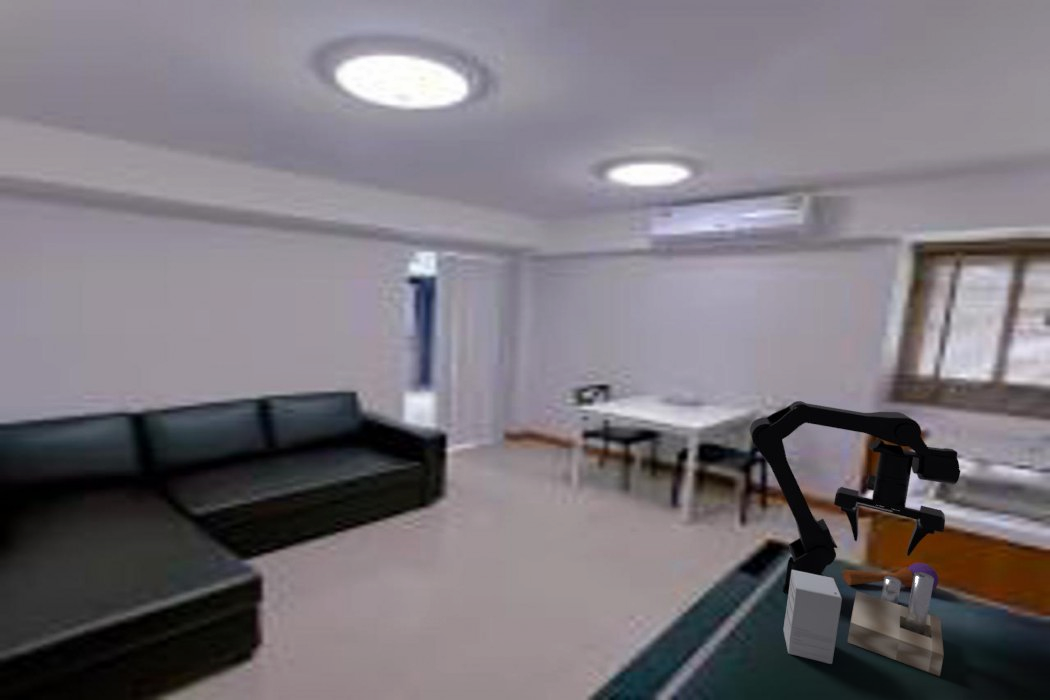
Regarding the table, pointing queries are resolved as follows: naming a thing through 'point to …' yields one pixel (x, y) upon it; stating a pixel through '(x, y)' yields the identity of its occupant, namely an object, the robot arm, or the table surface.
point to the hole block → (895, 634)
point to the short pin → (891, 589)
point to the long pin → (919, 602)
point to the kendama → (903, 575)
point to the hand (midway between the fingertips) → (881, 547)
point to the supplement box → (812, 616)
